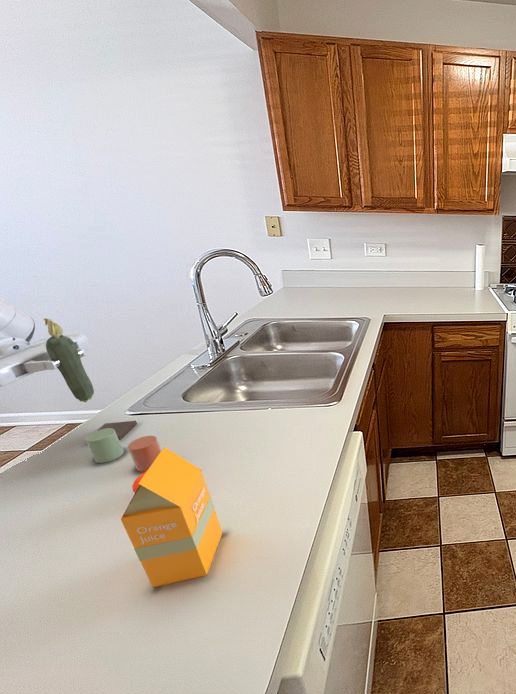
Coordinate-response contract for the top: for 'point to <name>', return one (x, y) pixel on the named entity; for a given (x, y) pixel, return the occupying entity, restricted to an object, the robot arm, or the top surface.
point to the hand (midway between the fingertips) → (69, 358)
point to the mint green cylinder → (104, 445)
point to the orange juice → (172, 521)
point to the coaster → (120, 427)
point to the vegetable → (68, 362)
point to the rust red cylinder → (144, 452)
